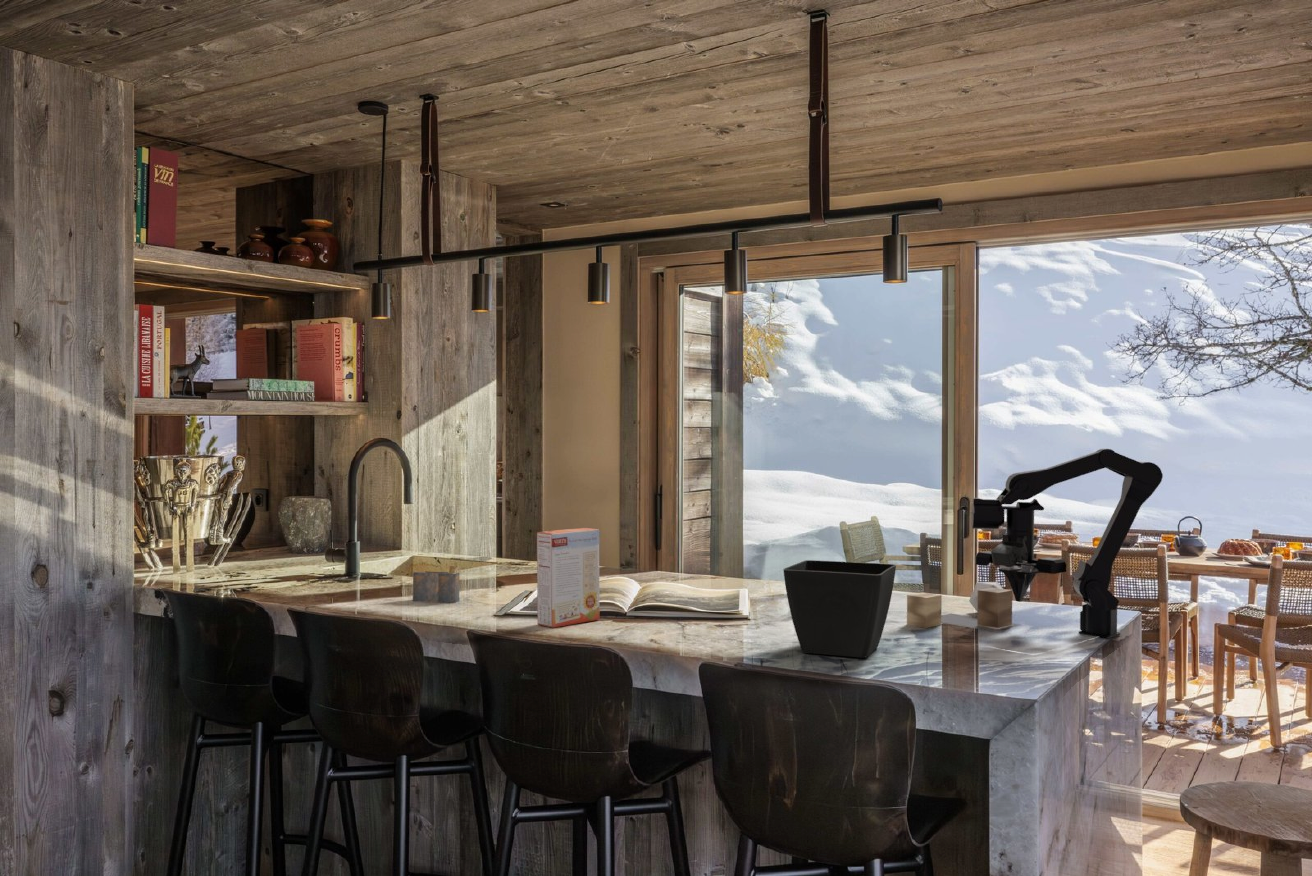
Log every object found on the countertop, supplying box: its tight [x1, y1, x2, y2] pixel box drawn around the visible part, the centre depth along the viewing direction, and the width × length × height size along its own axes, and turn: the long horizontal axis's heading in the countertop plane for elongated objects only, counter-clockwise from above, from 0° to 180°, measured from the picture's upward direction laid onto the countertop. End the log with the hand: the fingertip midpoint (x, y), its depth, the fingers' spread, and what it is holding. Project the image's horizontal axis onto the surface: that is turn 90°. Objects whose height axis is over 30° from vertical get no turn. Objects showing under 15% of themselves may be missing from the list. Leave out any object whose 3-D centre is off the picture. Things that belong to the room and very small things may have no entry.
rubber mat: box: [941, 612, 1021, 632], centre depth 229 cm, size 18×12×1 cm, turn 41°
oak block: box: [906, 592, 943, 629], centre depth 226 cm, size 5×6×7 cm
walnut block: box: [976, 588, 1013, 630], centre depth 225 cm, size 5×6×8 cm
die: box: [968, 581, 1004, 613], centre depth 240 cm, size 8×9×10 cm
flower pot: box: [783, 559, 897, 659], centre depth 199 cm, size 19×19×17 cm
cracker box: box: [536, 527, 601, 629], centre depth 226 cm, size 14×6×21 cm, turn 135°
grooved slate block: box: [412, 563, 460, 604], centre depth 253 cm, size 11×3×10 cm, turn 78°
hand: (1019, 601), depth 220 cm, fingers closed
